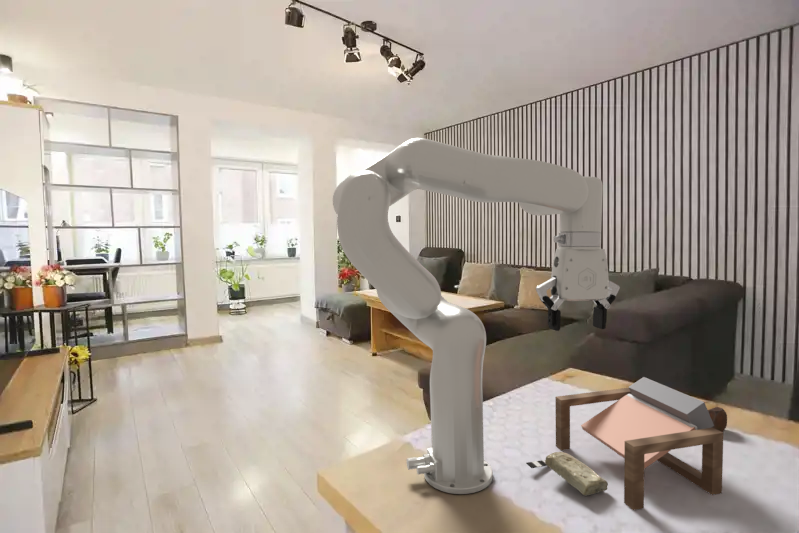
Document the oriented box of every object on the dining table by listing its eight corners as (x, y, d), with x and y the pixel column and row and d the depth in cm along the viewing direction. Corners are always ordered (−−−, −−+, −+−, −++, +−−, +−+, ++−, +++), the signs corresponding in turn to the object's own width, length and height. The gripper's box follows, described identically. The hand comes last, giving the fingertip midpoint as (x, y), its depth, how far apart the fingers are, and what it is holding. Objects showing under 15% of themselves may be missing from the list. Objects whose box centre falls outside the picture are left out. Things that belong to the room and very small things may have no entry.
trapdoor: (646, 480, 74) (635, 456, 73) (586, 437, 90) (576, 417, 89) (719, 428, 77) (709, 404, 76) (648, 395, 92) (640, 375, 91)
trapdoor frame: (633, 510, 70) (633, 446, 69) (555, 445, 92) (555, 396, 91) (721, 493, 74) (723, 432, 73) (627, 435, 95) (627, 387, 95)
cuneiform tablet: (526, 463, 82) (579, 509, 72) (532, 441, 81) (587, 485, 71) (551, 459, 86) (605, 502, 76) (558, 438, 85) (613, 479, 75)
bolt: (655, 415, 109) (723, 438, 96) (643, 409, 107) (711, 431, 93) (662, 393, 110) (730, 412, 97) (651, 386, 108) (718, 405, 94)
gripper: (548, 241, 81) (545, 334, 82) (632, 242, 84) (629, 331, 85) (529, 241, 88) (527, 326, 89) (607, 241, 91) (604, 323, 92)
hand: (576, 328), depth 87 cm, fingers open, 9 cm apart
